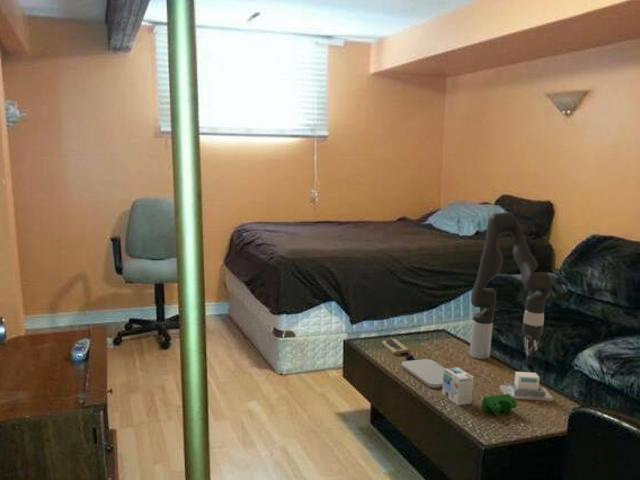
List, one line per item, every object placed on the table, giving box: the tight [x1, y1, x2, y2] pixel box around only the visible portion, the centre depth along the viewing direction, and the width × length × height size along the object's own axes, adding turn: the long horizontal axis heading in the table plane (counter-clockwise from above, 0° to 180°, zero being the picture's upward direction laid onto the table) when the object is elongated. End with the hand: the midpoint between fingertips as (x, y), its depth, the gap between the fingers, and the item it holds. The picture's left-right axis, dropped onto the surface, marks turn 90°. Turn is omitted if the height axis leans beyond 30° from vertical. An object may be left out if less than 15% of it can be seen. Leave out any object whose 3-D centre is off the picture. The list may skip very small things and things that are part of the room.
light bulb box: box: [441, 366, 475, 406], centre depth 214 cm, size 11×7×11 cm, turn 22°
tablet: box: [401, 358, 447, 389], centre depth 237 cm, size 16×26×2 cm, turn 21°
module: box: [513, 371, 540, 391], centre depth 221 cm, size 5×8×7 cm, turn 87°
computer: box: [381, 338, 410, 356], centre depth 268 cm, size 16×8×3 cm, turn 15°
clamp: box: [481, 394, 518, 418], centre depth 204 cm, size 12×6×9 cm, turn 105°
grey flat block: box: [499, 380, 554, 402], centre depth 222 cm, size 10×18×3 cm, turn 87°
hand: (528, 364), depth 220 cm, fingers closed
